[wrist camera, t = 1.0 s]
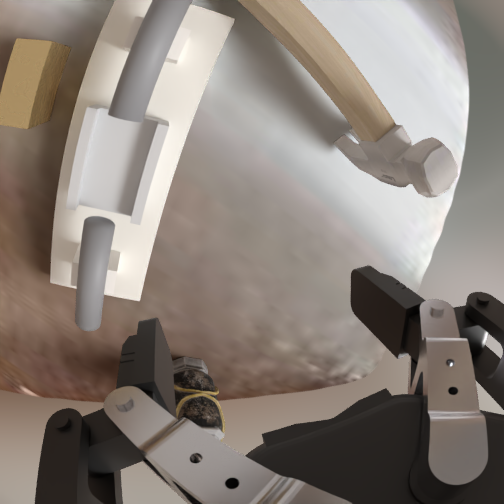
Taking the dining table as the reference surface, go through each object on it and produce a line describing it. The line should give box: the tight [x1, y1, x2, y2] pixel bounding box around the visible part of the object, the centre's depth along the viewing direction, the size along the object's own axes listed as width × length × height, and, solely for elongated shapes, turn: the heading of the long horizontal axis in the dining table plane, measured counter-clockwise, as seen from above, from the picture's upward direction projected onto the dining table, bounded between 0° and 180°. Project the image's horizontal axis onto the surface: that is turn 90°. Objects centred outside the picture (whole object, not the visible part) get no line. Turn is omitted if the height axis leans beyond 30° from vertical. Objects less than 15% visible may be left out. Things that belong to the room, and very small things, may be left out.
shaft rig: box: [50, 0, 235, 331], centre depth 26 cm, size 12×34×8 cm, turn 158°
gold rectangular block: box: [0, 39, 71, 129], centre depth 20 cm, size 4×8×6 cm, turn 158°
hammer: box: [237, 0, 458, 197], centre depth 24 cm, size 16×5×30 cm
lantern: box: [172, 357, 225, 442], centre depth 38 cm, size 9×8×25 cm
